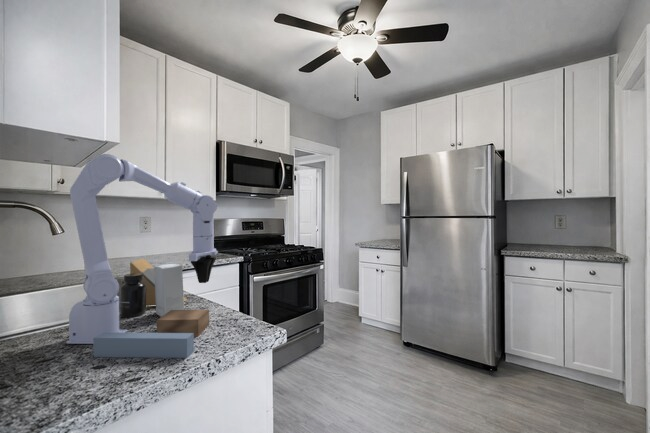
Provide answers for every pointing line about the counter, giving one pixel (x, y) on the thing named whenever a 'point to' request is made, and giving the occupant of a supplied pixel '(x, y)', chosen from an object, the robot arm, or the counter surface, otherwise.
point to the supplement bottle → (133, 296)
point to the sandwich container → (146, 278)
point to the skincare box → (168, 288)
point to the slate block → (144, 345)
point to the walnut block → (184, 322)
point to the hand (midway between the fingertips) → (203, 282)
